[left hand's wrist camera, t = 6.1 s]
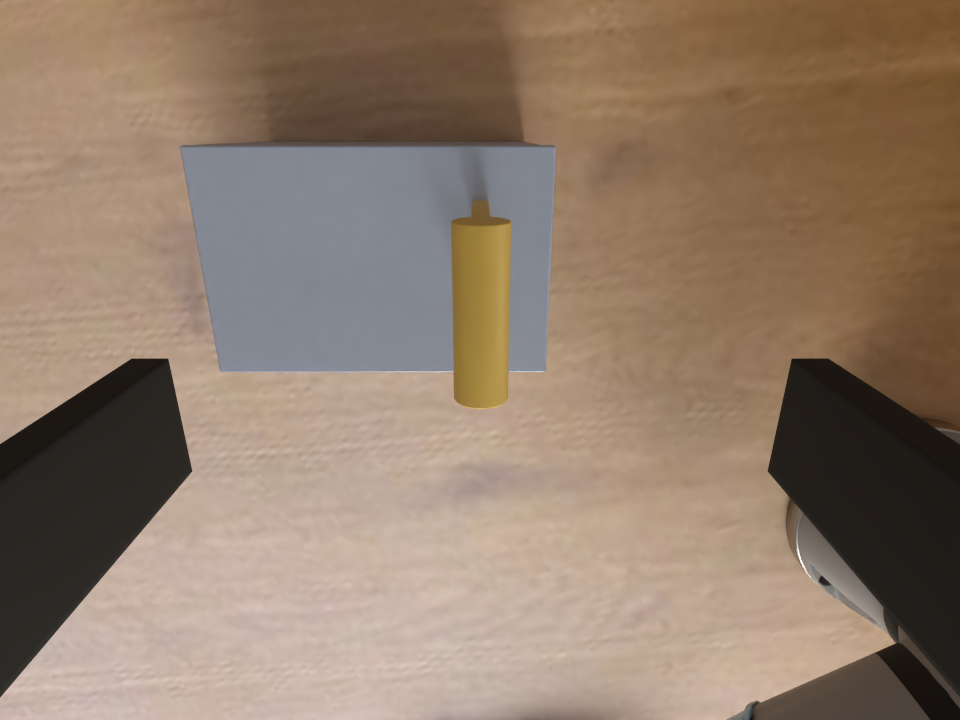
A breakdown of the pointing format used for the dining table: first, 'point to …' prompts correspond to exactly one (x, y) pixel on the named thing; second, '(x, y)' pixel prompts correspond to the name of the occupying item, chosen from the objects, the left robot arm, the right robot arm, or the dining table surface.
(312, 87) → the dining table surface
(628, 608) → the dining table surface
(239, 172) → the lid
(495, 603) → the dining table surface
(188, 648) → the dining table surface
